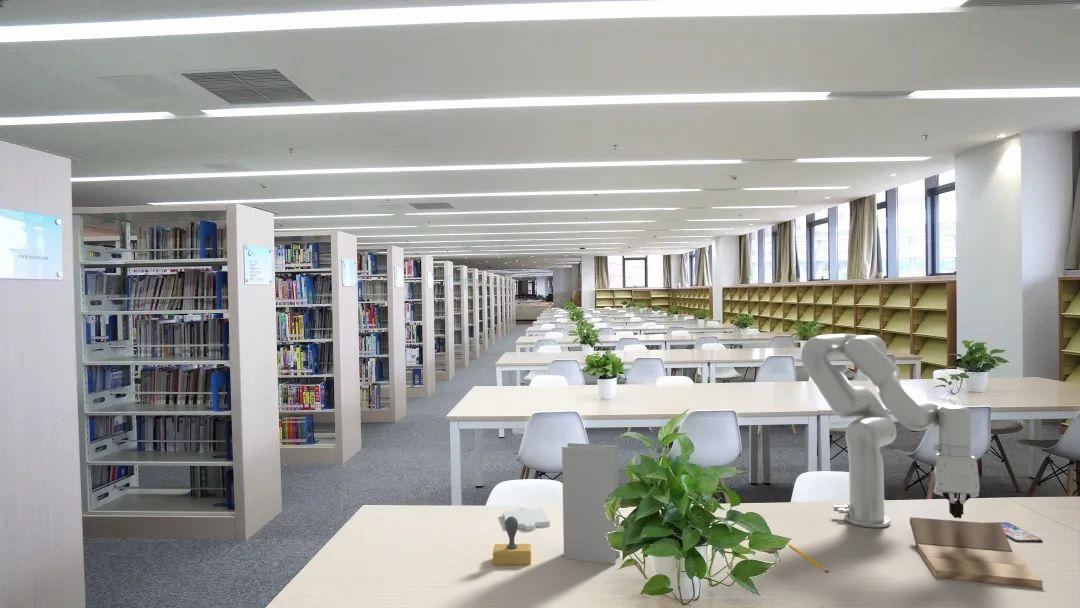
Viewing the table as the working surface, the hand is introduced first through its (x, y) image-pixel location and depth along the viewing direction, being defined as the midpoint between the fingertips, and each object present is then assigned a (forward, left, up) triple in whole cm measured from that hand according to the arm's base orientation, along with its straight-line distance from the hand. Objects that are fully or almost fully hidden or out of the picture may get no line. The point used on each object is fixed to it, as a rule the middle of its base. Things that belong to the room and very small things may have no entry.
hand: (956, 516), depth 179 cm
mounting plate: (-122, -12, -9) cm, 123 cm away
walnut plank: (0, -2, -5) cm, 6 cm away
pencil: (-40, -20, -9) cm, 46 cm away
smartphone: (+18, +15, -9) cm, 25 cm away
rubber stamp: (-115, -43, -8) cm, 123 cm away
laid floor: (0, -16, -8) cm, 18 cm away
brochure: (-95, -35, -8) cm, 102 cm away
